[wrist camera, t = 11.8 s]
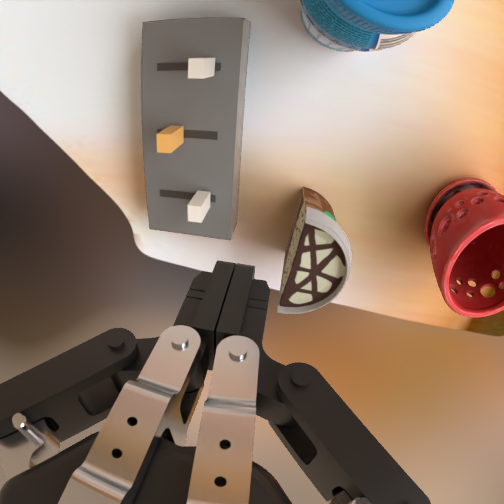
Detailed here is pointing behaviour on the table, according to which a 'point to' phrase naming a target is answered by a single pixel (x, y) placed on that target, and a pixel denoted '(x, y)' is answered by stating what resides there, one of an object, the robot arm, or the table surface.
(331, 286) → the food container
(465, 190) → the plant pot
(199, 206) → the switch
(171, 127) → the switch mid
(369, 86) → the table surface
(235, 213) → the breaker block
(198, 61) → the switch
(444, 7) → the beverage bottle
